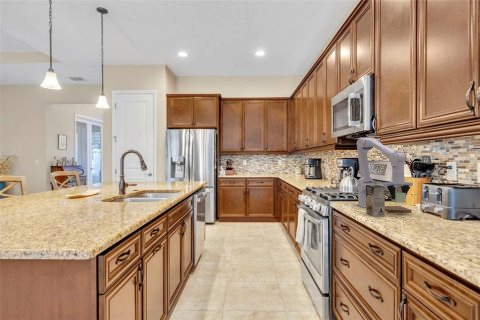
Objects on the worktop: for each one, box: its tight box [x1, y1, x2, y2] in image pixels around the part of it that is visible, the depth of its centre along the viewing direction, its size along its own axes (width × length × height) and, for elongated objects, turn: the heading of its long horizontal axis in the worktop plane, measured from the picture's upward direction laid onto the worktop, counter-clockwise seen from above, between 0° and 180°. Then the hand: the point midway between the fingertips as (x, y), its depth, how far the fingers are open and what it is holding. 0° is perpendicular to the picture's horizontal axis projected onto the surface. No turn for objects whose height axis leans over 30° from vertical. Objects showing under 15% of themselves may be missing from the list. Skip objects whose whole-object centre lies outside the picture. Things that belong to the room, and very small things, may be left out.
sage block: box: [391, 191, 407, 204], centre depth 143 cm, size 5×5×5 cm
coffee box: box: [365, 184, 386, 217], centre depth 143 cm, size 9×6×16 cm
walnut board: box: [385, 205, 413, 214], centre depth 153 cm, size 12×12×2 cm
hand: (398, 199), depth 143 cm, fingers closed on sage block, 5 cm apart
